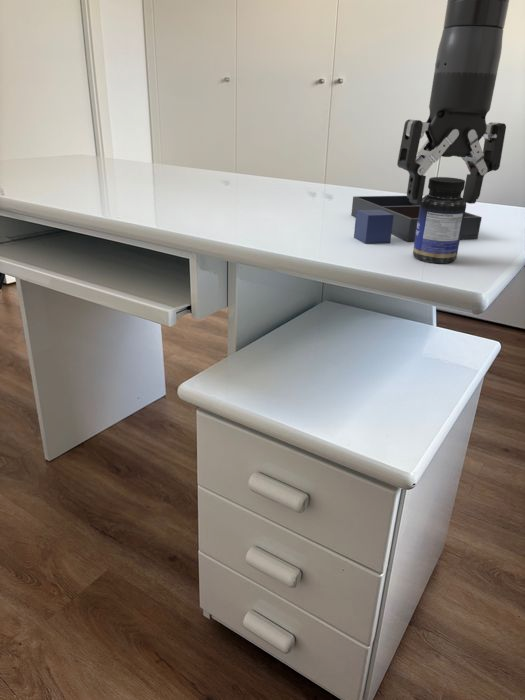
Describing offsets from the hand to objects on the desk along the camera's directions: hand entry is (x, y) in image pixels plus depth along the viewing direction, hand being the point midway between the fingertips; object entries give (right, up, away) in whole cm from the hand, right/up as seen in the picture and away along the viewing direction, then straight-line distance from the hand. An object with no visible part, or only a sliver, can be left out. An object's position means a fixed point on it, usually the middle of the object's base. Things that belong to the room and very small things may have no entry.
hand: (442, 202), depth 74 cm
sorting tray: (+2, +2, +24) cm, 24 cm away
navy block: (-7, -2, +13) cm, 15 cm away
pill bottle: (0, -7, +3) cm, 8 cm away
